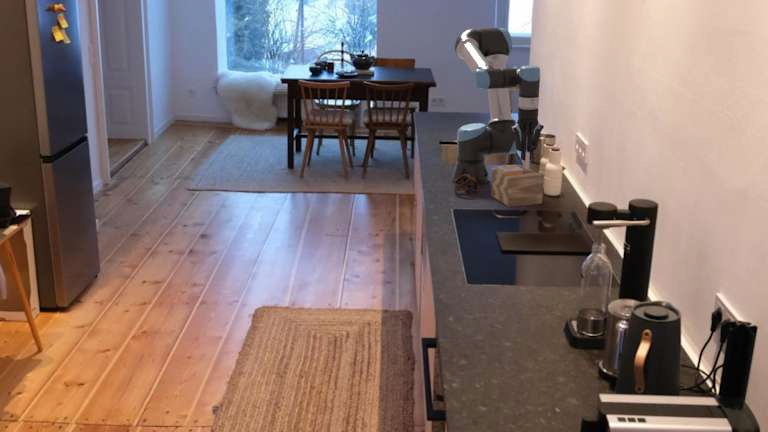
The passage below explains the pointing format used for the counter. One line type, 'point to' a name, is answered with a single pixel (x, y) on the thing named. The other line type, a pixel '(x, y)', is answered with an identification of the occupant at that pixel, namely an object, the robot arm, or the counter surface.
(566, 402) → the counter surface
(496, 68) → the robot arm
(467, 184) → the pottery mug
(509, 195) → the oak block
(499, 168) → the tile
